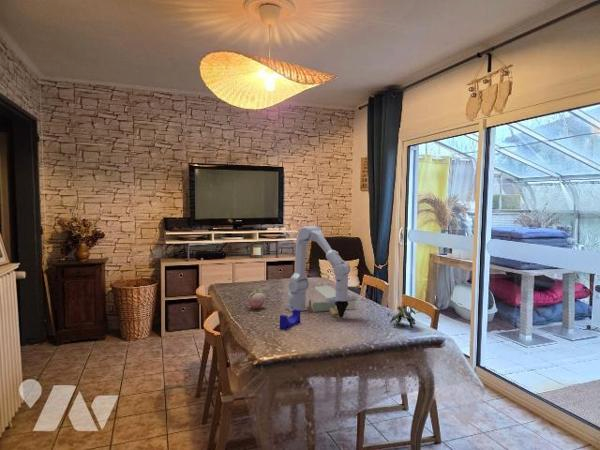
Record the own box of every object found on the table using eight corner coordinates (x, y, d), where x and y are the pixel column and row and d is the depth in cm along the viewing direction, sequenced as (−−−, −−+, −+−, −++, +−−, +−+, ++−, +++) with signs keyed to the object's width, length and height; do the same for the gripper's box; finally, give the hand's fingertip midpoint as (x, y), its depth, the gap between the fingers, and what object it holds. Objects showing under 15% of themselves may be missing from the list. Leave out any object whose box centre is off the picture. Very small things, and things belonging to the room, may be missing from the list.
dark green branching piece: (410, 339, 171) (423, 322, 164) (388, 336, 169) (400, 318, 162) (403, 319, 180) (415, 302, 173) (382, 315, 178) (393, 298, 171)
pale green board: (309, 312, 192) (309, 300, 192) (308, 311, 193) (308, 300, 193) (355, 308, 200) (355, 297, 199) (354, 308, 201) (354, 297, 201)
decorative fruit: (256, 305, 204) (256, 287, 203) (268, 308, 199) (268, 289, 199) (243, 309, 196) (244, 290, 196) (255, 312, 192) (256, 292, 191)
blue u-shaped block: (292, 321, 178) (292, 308, 178) (300, 323, 176) (300, 310, 175) (276, 328, 168) (277, 314, 168) (285, 330, 166) (285, 316, 165)
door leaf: (313, 311, 193) (313, 302, 193) (312, 310, 195) (312, 302, 194) (335, 310, 197) (335, 301, 196) (334, 309, 198) (334, 300, 198)
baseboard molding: (325, 300, 219) (345, 299, 222) (325, 295, 219) (345, 294, 221) (311, 288, 249) (329, 288, 252) (312, 284, 249) (329, 283, 252)
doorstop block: (333, 318, 184) (333, 313, 184) (329, 312, 194) (329, 307, 194) (341, 318, 184) (341, 313, 184) (337, 312, 194) (337, 307, 194)
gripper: (330, 291, 175) (330, 320, 176) (359, 289, 180) (358, 318, 181) (325, 287, 182) (324, 316, 183) (352, 286, 187) (352, 313, 187)
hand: (341, 316), depth 182 cm, fingers closed
